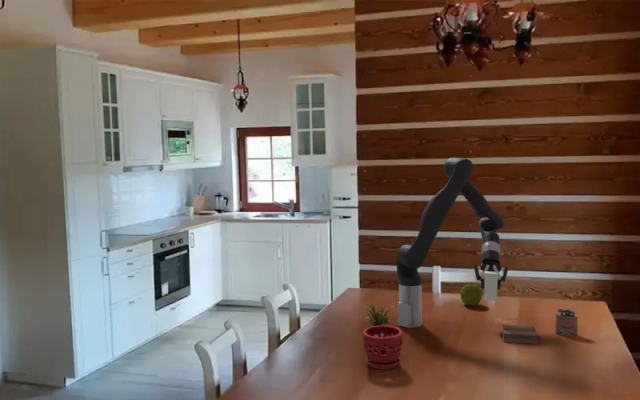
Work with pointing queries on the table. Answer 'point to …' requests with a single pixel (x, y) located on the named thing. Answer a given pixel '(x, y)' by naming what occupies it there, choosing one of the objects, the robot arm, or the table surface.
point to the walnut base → (519, 334)
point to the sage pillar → (490, 285)
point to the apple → (471, 294)
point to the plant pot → (383, 346)
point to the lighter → (566, 323)
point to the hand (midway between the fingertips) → (490, 288)
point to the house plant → (378, 317)
